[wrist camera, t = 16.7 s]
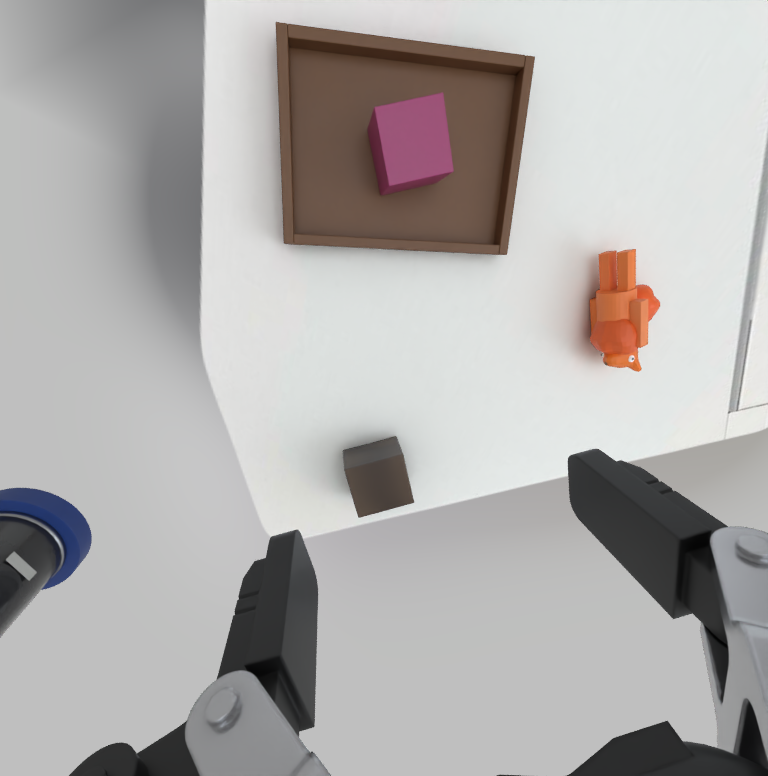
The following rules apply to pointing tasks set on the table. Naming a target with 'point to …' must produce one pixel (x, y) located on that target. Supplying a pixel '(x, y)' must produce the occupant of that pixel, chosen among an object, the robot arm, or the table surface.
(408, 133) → the mulberry block
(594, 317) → the orange toy animal
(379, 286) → the table surface
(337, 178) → the tray
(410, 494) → the dark brown block
